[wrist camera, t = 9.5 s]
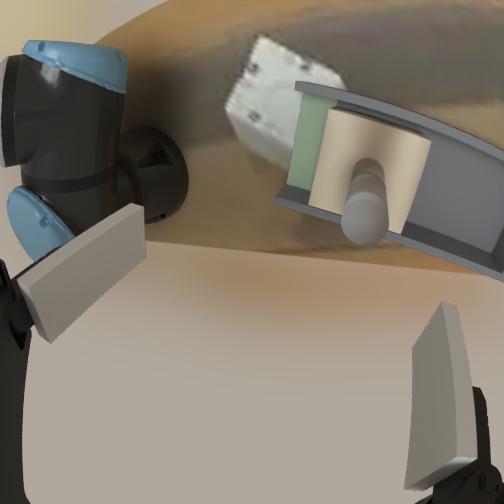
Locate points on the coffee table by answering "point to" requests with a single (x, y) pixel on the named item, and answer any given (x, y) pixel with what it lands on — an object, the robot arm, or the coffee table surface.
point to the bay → (430, 185)
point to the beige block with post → (368, 173)
